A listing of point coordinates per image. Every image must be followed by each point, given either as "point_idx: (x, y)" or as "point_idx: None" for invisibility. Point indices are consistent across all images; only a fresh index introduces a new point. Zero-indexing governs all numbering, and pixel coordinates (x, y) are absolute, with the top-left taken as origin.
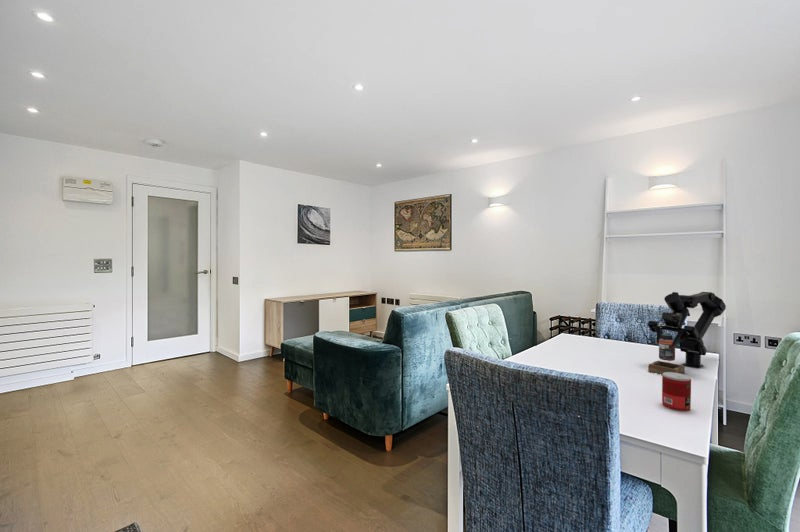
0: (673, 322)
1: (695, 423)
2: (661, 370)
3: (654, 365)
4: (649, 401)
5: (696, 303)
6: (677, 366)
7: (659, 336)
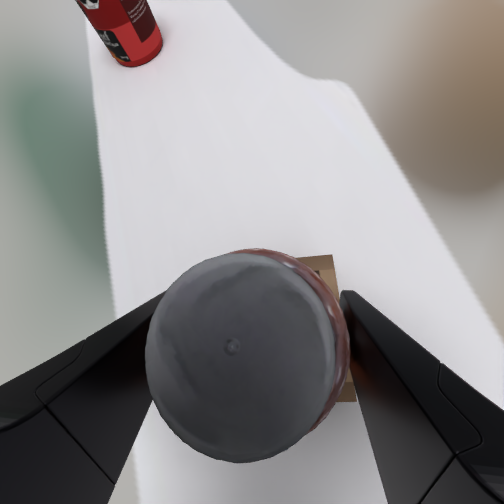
0: None
1: None
2: None
3: (303, 259)
4: (185, 28)
5: None
6: None
7: (374, 356)
